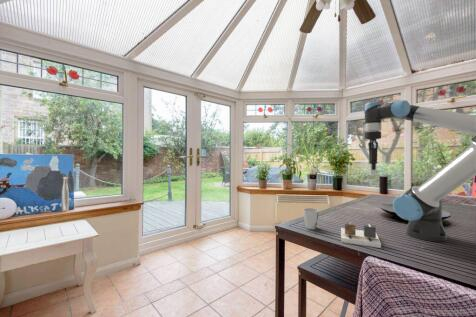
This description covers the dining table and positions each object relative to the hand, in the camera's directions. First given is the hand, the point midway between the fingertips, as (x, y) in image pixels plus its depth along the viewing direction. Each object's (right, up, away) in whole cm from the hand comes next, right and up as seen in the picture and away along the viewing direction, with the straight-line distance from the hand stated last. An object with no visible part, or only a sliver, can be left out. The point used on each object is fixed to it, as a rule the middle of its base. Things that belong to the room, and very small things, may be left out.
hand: (373, 175), depth 114 cm
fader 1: (-19, -27, -13) cm, 35 cm away
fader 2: (-12, -27, -16) cm, 33 cm away
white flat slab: (-14, -30, -12) cm, 35 cm away
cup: (-32, -30, +5) cm, 44 cm away
